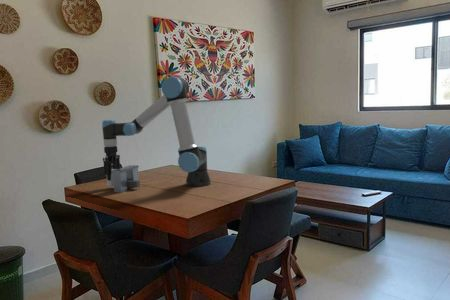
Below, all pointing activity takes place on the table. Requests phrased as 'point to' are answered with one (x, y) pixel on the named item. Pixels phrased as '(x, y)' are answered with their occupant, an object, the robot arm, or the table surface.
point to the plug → (129, 182)
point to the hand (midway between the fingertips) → (113, 184)
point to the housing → (124, 177)
